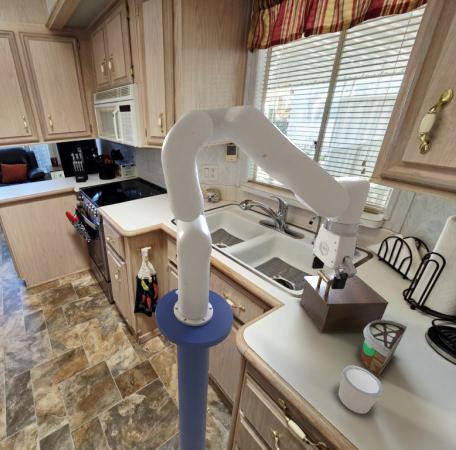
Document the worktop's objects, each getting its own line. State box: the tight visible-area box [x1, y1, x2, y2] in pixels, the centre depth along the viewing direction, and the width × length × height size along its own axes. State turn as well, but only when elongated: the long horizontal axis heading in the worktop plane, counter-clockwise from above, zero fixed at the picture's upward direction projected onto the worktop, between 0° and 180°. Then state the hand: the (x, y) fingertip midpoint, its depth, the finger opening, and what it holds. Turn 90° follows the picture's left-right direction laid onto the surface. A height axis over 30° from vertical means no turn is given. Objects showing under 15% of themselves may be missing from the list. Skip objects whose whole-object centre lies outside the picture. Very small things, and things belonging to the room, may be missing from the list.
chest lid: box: [303, 269, 389, 306], centre depth 73 cm, size 16×13×6 cm
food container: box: [360, 319, 408, 377], centre depth 63 cm, size 12×6×10 cm, turn 123°
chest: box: [299, 280, 388, 333], centre depth 76 cm, size 16×13×10 cm
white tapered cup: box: [338, 365, 384, 415], centre depth 54 cm, size 7×7×7 cm
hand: (326, 277), depth 72 cm, fingers open, 9 cm apart
